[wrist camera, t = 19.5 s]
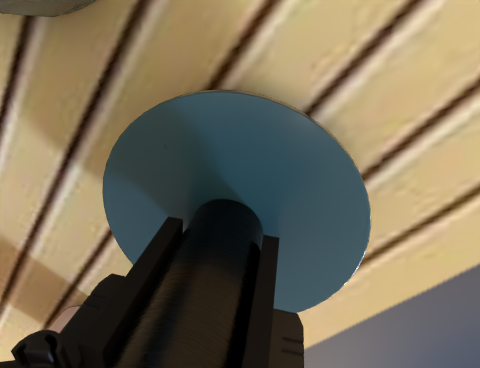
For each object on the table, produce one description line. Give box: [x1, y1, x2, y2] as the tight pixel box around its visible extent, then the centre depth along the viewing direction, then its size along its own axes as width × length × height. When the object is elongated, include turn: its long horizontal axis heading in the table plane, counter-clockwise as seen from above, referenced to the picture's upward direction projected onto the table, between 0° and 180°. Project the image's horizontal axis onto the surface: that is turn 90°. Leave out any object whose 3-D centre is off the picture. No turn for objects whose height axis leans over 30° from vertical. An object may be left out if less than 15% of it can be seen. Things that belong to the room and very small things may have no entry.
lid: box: [103, 89, 371, 368], centre depth 12 cm, size 15×15×10 cm
